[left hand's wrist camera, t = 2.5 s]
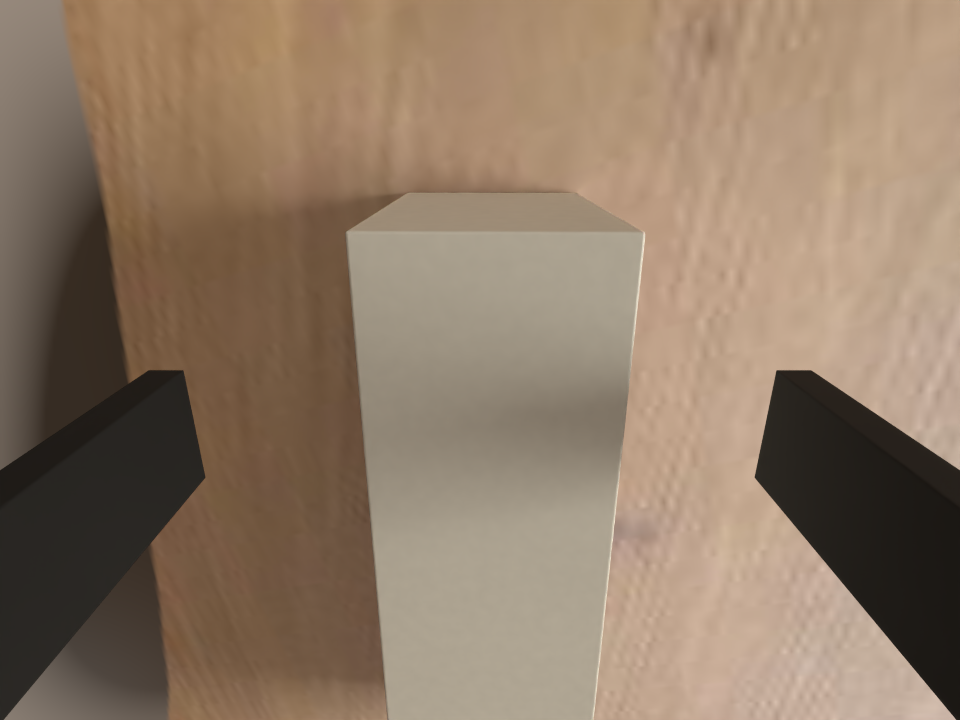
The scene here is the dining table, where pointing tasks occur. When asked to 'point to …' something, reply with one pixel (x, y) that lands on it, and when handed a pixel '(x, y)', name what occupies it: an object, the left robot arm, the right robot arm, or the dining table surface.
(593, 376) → the box
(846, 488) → the left robot arm
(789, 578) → the dining table surface
